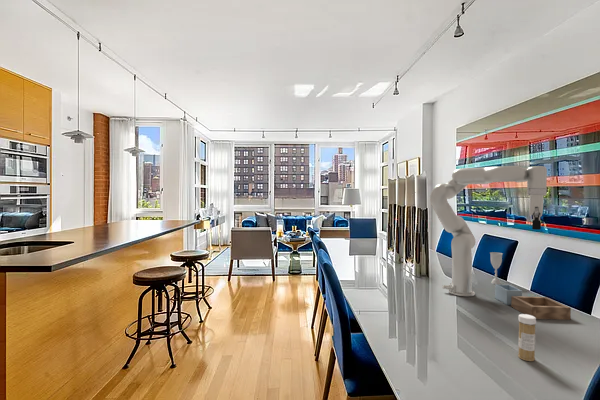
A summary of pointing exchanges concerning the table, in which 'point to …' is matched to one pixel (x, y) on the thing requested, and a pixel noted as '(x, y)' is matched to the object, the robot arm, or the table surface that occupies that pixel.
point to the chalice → (496, 264)
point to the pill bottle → (527, 337)
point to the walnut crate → (541, 307)
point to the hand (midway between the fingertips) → (536, 228)
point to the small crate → (506, 293)
